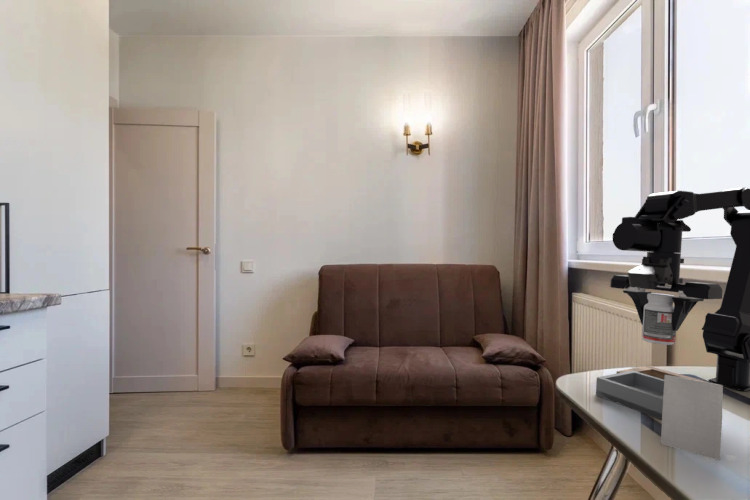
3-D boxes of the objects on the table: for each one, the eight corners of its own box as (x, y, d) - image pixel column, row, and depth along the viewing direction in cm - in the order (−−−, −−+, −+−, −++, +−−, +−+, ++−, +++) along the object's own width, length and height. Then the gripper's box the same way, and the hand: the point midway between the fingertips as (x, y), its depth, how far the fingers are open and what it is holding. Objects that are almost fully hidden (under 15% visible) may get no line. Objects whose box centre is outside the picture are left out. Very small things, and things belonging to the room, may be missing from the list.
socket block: (647, 374, 95) (647, 365, 95) (708, 391, 84) (708, 382, 84) (616, 380, 89) (616, 371, 89) (677, 400, 79) (677, 390, 79)
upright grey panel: (719, 460, 56) (723, 389, 56) (660, 444, 60) (664, 377, 60) (718, 449, 59) (721, 382, 59) (661, 435, 63) (665, 371, 63)
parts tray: (631, 387, 85) (632, 370, 85) (698, 408, 75) (699, 390, 75) (595, 394, 80) (596, 377, 80) (662, 419, 69) (663, 399, 69)
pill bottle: (680, 346, 81) (684, 297, 80) (648, 343, 82) (652, 295, 82) (666, 340, 86) (669, 294, 86) (636, 337, 87) (639, 292, 87)
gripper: (596, 249, 88) (592, 320, 89) (694, 253, 72) (689, 340, 72) (627, 251, 93) (623, 318, 94) (726, 255, 77) (720, 337, 77)
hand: (659, 327), depth 84 cm, fingers closed on pill bottle, 6 cm apart
